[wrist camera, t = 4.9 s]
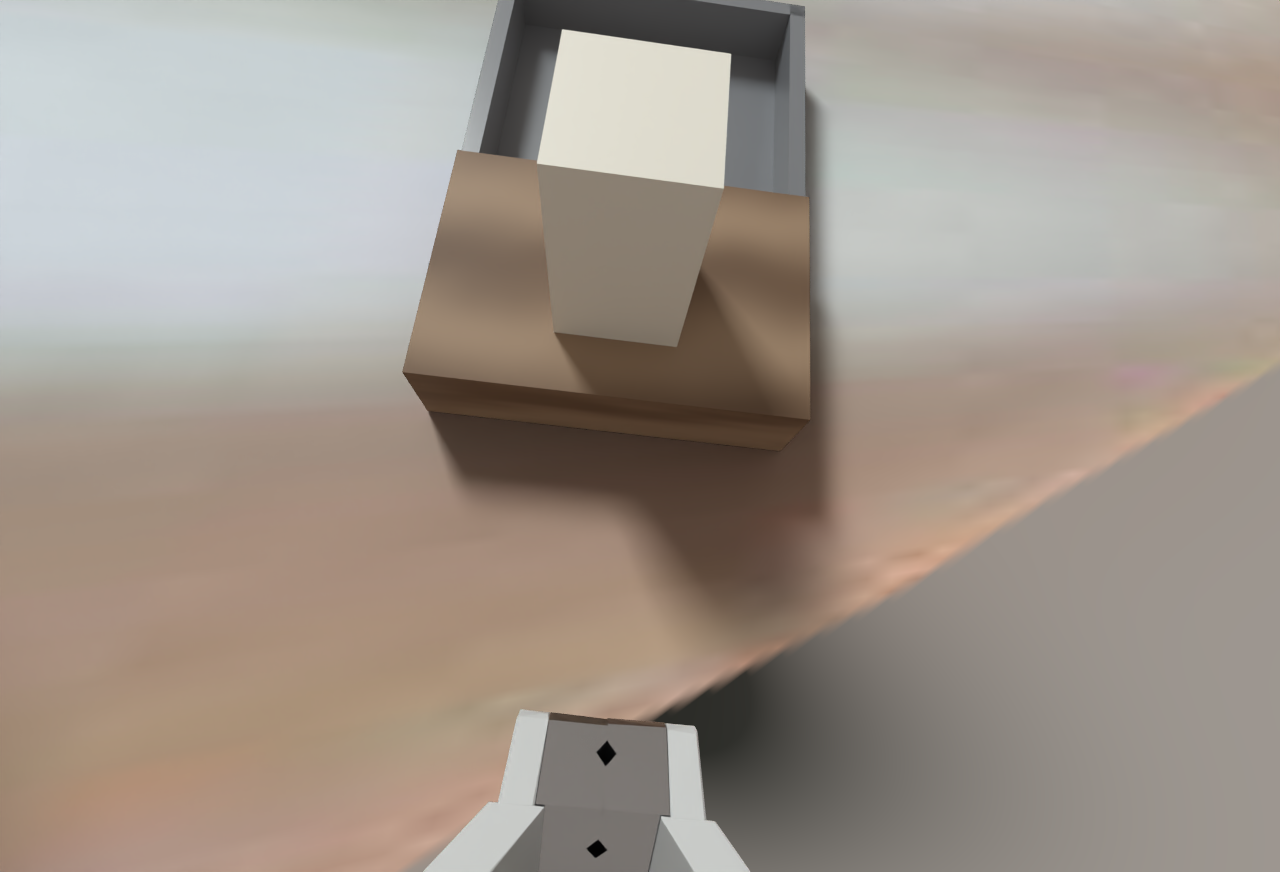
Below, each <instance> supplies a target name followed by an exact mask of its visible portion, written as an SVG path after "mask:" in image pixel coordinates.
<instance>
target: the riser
mask: <svg viewBox="0 0 1280 872" xmlns="http://www.w3.org/2000/svg"><path fill="white" fill-rule="evenodd" d="M402 372H403V374H404V375H405V377H406V378H407V380H408V382H409V383H410V385H411V386H412V388H413V389H414V391H415V392H416V394H417V395H418V397H419V398H420V400H421V401H422V403H423V404H424V406H425V408H426V409H427V411H433V412H441V413H450V414H459V415H468V416H476V417H485V418H494V419H503V420H511V421H520V422H529V423H538V424H547V425H555V426H564V427H573V428H582V429H590V430H599V431H608V432H617V433H625V434H634V435H643V436H652V437H660V438H669V439H678V440H687V441H695V442H704V443H713V444H722V445H731V446H739V447H748V448H757V449H766V450H774V451H781V450H782V449H783V448H784V447H785V446H786V445H787V444H788V443H789V442H790V441H791V439H792V438H793V437H794V436H795V435H796V434H797V433H798V432H799V431H800V430H801V429H802V428H803V427H804V426H805V425H806V424H807V423H808V422H809V421H810V244H809V197H804V196H797V195H789V194H782V193H774V192H767V191H760V190H752V189H745V188H737V187H730V186H724V189H723V193H722V196H721V200H720V203H719V206H718V210H717V213H716V216H715V220H714V223H713V227H712V230H711V233H710V237H709V240H708V243H707V247H706V250H705V254H704V257H703V260H702V264H701V267H700V270H699V274H698V277H697V281H696V284H695V287H694V291H693V294H692V298H691V301H690V304H689V308H688V311H687V314H686V318H685V321H684V325H683V328H682V331H681V335H680V338H679V341H678V345H677V347H672V346H663V345H655V344H647V343H639V342H630V341H622V340H614V339H606V338H598V337H589V336H581V335H573V334H565V333H556V332H554V329H553V320H552V310H551V300H550V290H549V280H548V270H547V260H546V250H545V240H544V230H543V220H542V210H541V200H540V190H539V181H538V171H537V160H529V159H522V158H514V157H507V156H499V155H492V154H484V153H477V152H470V151H462V150H457V154H456V158H455V162H454V166H453V170H452V174H451V178H450V182H449V186H448V190H447V194H446V198H445V202H444V206H443V210H442V214H441V218H440V222H439V226H438V230H437V234H436V238H435V242H434V246H433V251H432V255H431V259H430V263H429V267H428V271H427V275H426V279H425V283H424V287H423V291H422V295H421V299H420V303H419V307H418V311H417V315H416V319H415V323H414V327H413V331H412V335H411V339H410V343H409V347H408V351H407V355H406V359H405V363H404V367H403V371H402Z"/></svg>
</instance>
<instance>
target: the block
mask: <svg viewBox="0 0 1280 872" xmlns="http://www.w3.org/2000/svg"><path fill="white" fill-rule="evenodd" d="M730 65H731V54H729V53H722V52H716V51H709V50H702V49H695V48H688V47H681V46H674V45H667V44H660V43H653V42H647V41H640V40H633V39H626V38H619V37H612V36H605V35H598V34H591V33H584V32H578V31H571V30H564V29H562V33H561V38H560V44H559V49H558V54H557V59H556V65H555V70H554V75H553V80H552V86H551V91H550V96H549V102H548V107H547V112H546V117H545V123H544V128H543V133H542V139H541V144H540V149H539V154H538V160H537V171H538V181H539V190H540V200H541V210H542V220H543V230H544V240H545V250H546V260H547V270H548V280H549V290H550V300H551V310H552V320H553V329H554V332H556V333H565V334H573V335H581V336H589V337H598V338H606V339H614V340H622V341H630V342H639V343H647V344H655V345H663V346H672V347H677V345H678V341H679V338H680V335H681V331H682V328H683V325H684V321H685V318H686V314H687V311H688V308H689V304H690V301H691V298H692V294H693V291H694V287H695V284H696V281H697V277H698V274H699V270H700V267H701V264H702V260H703V257H704V254H705V250H706V247H707V243H708V240H709V237H710V233H711V230H712V227H713V223H714V220H715V216H716V213H717V210H718V206H719V203H720V200H721V196H722V193H723V189H724V175H725V156H726V138H727V120H728V102H729V83H730Z"/></svg>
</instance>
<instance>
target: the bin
mask: <svg viewBox="0 0 1280 872" xmlns="http://www.w3.org/2000/svg"><path fill="white" fill-rule="evenodd" d="M562 29H564V30H571V31H578V32H584V33H591V34H598V35H605V36H612V37H619V38H626V39H633V40H640V41H647V42H653V43H660V44H667V45H674V46H681V47H688V48H695V49H702V50H709V51H716V52H722V53H729V54H731V65H730V83H729V102H728V120H727V138H726V156H725V175H724V186H730V187H737V188H745V189H752V190H760V191H767V192H774V193H782V194H789V195H797V196H804V197H805V6H799V5H792V4H786V3H779V2H772V1H765V0H498V3H497V7H496V12H495V16H494V20H493V24H492V28H491V32H490V36H489V40H488V44H487V48H486V52H485V56H484V60H483V65H482V69H481V73H480V77H479V81H478V85H477V89H476V93H475V97H474V101H473V105H472V109H471V113H470V117H469V122H468V126H467V130H466V134H465V138H464V142H463V146H462V151H470V152H477V153H484V154H492V155H499V156H507V157H514V158H522V159H529V160H538V154H539V149H540V144H541V139H542V133H543V128H544V123H545V117H546V112H547V107H548V102H549V96H550V91H551V86H552V80H553V75H554V70H555V65H556V59H557V54H558V49H559V44H560V38H561V33H562Z"/></svg>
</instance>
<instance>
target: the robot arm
mask: <svg viewBox="0 0 1280 872" xmlns="http://www.w3.org/2000/svg"><path fill="white" fill-rule="evenodd" d="M423 872H750V870H749V869H748V868H747V866H746V865H745V863H744V862H743V860H742V859H741V857H740V856H739V855H738V853H737V852H736V850H735V849H734V848H733V846H732V845H731V843H730V842H729V840H728V839H727V837H726V836H725V835H724V834H723V832H722V830H721V829H720V828H719V826H718V825H717V823H716V822H715V821H709V820H706V814H705V804H704V794H703V784H702V774H701V764H700V755H699V744H698V734H697V730H696V728H695V726H688V725H677V724H667V723H666V724H664V723H662V722H649V721H636V720H624V719H611V718H608V719H601V718H593V717H585V716H576V715H568V714H560V713H552V712H551V713H550V712H541V711H532V710H522V709H520V712H519V714H518V717H517V720H516V724H515V728H514V733H513V737H512V742H511V746H510V751H509V755H508V760H507V764H506V769H505V773H504V778H503V782H502V786H501V791H500V795H499V800H498V802H488V803H487V804H486V805H485V806H484V807H483V808H482V809H481V810H480V812H479V813H478V814H477V815H476V816H475V817H474V818H473V819H472V820H471V821H470V822H469V823H468V824H467V825H466V826H465V827H464V829H463V830H462V831H461V832H460V833H459V834H458V835H457V836H456V837H455V838H454V839H453V840H452V841H451V842H450V843H449V844H448V845H447V847H446V848H445V849H444V850H443V851H442V852H441V853H440V854H439V855H438V856H437V857H436V858H435V859H434V860H433V861H432V862H431V864H430V865H429V866H428V867H427V868H426V869H425V870H424V871H423Z"/></svg>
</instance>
